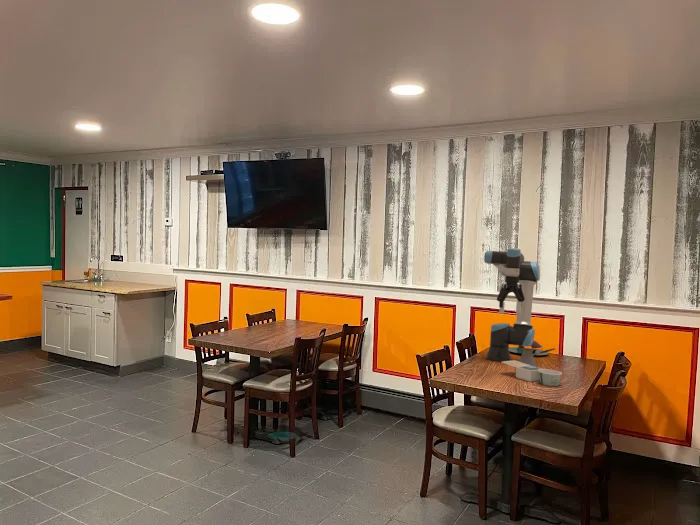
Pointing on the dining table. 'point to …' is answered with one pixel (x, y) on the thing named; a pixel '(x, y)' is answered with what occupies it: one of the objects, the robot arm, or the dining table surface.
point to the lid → (514, 363)
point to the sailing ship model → (534, 345)
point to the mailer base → (528, 374)
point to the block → (530, 367)
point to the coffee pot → (530, 356)
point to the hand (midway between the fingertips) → (510, 313)
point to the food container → (550, 377)
